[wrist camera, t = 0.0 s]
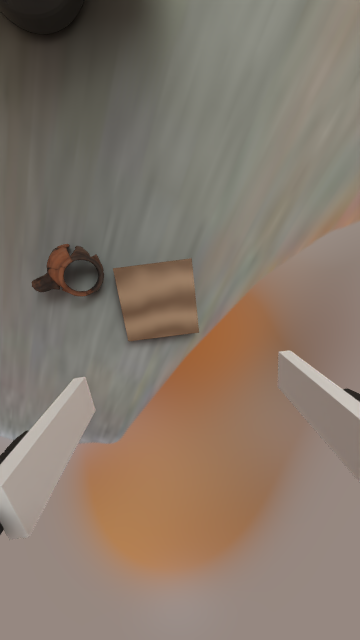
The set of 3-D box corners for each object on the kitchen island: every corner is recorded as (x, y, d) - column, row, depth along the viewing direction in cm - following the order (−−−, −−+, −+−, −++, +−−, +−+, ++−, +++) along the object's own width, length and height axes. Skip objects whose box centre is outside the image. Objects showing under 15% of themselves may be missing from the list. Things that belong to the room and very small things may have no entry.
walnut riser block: (120, 267, 39) (112, 268, 34) (189, 259, 39) (191, 258, 34) (133, 332, 43) (128, 341, 38) (196, 324, 43) (198, 332, 38)
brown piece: (77, 232, 37) (89, 238, 31) (104, 273, 43) (118, 285, 38) (15, 263, 34) (15, 277, 28) (54, 303, 40) (60, 321, 34)
